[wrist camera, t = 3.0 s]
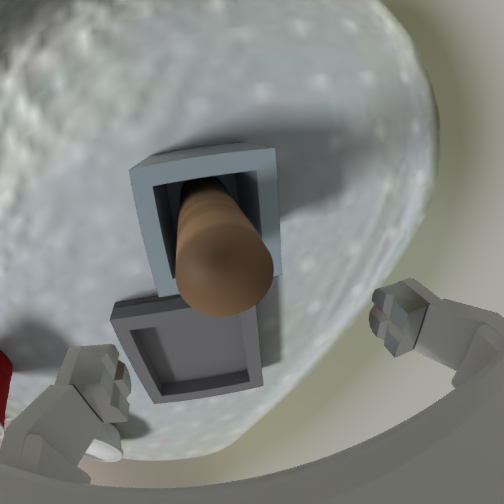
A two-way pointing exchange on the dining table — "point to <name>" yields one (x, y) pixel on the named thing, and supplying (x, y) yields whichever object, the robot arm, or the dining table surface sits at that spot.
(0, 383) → the plastic cup
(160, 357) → the tray
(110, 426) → the ramekin
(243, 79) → the dining table surface
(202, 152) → the grey square bin
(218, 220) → the walnut dowel
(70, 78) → the dining table surface
